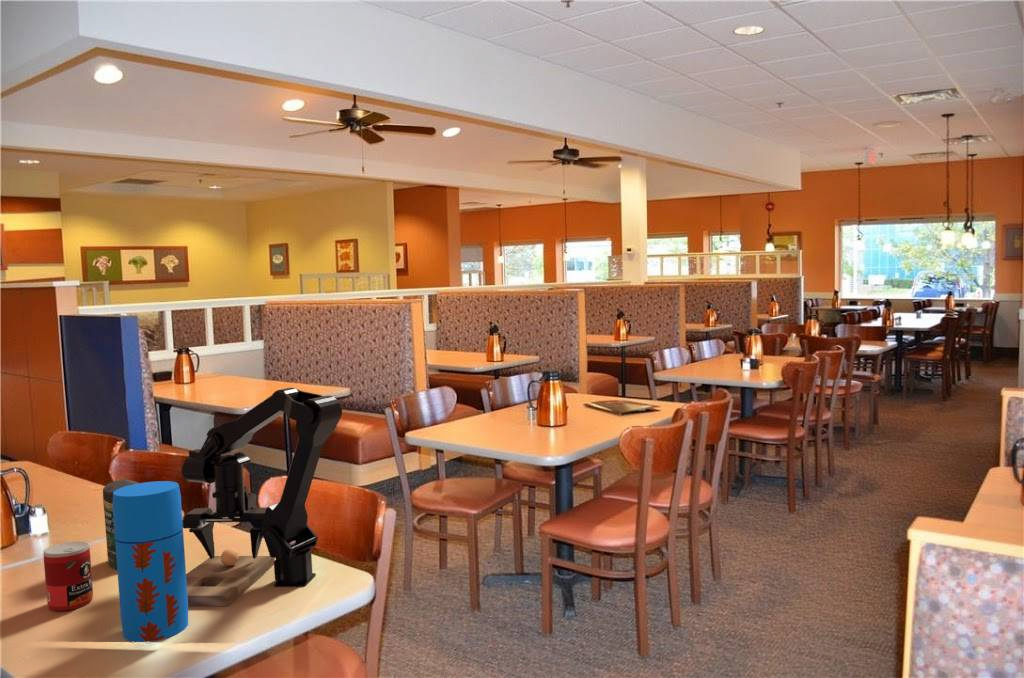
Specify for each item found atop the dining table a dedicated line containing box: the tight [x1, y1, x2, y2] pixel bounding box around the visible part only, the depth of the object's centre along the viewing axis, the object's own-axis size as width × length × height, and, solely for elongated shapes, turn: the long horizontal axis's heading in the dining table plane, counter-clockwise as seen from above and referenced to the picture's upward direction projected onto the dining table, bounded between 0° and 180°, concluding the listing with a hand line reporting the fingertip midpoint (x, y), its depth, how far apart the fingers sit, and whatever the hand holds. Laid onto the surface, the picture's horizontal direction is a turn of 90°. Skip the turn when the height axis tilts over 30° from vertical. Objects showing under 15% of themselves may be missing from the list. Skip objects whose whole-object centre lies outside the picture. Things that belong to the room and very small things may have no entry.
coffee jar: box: [102, 478, 140, 571], centre depth 175 cm, size 10×8×19 cm
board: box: [186, 555, 276, 607], centre depth 162 cm, size 14×22×2 cm, turn 174°
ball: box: [220, 548, 240, 566], centre depth 167 cm, size 4×4×4 cm
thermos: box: [113, 480, 189, 643], centre depth 140 cm, size 11×11×25 cm
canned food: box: [42, 540, 94, 612], centre depth 154 cm, size 8×8×11 cm
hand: (233, 558), depth 169 cm, fingers open, 9 cm apart
